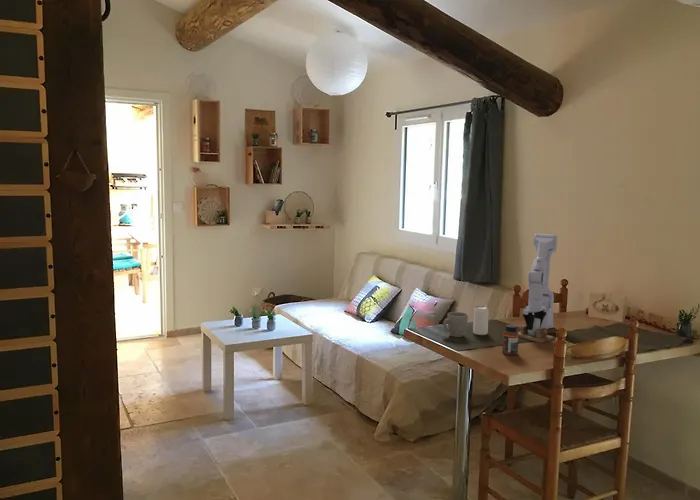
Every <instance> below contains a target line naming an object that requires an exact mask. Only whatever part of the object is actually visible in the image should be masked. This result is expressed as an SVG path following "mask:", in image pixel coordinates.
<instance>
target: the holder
mask: <svg viewBox="0 0 700 500" xmlns="http://www.w3.org/2000/svg"><path fill="white" fill-rule="evenodd" d="M527 332H528V329H527V326H526V324H524V325H520V331H518V333H519V339H524V340H528V341H532V342H536V343H539V344H540V343H546V342H549V341H552V340H554V339H555V336H554V335H549V334H548V329H547V328H541V329H537V331H536V336H532V335H528V334H527Z"/></svg>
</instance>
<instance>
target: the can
mask: <svg viewBox="0 0 700 500" xmlns="http://www.w3.org/2000/svg"><path fill="white" fill-rule="evenodd" d="M489 312H490V311H489V308H488V306H484V305H475V306H474V310H473V323H472V333H473V334H474V335H475V336H477V335H478V336H487V335H488V334H489V333H488V332H489V330H488V329H489V316H490V315H489V314H490V313H489Z"/></svg>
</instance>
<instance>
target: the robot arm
mask: <svg viewBox="0 0 700 500" xmlns="http://www.w3.org/2000/svg"><path fill="white" fill-rule="evenodd" d="M557 245H558V235H557V234H552V233H551V234H547V233H546V234H545V233H535V234H534V237H533V246H534V249H535V251H536V258H534V259H533V260H532V261H533V262H532V266H531V270H530V271H529V272H528V303H527V304H528V305H527V306H525V308H524V309H522V317H523V318H524V321H525V325H526V326H527V329H528V330H532V328H533V322H534V319H535V318H538V319H541V321H540V329H541V328H547V330H548V329H551V328H555V325H554V312H553V310H552V309H553V308H554V302H555V301H554V298H555V297H554V292H553V291H552V290H551V289H550V288H549V279H550V270H551V269H550V266H551V258H552V254H555V253H556V252H557V248H558V247H557Z"/></svg>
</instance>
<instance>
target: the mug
mask: <svg viewBox="0 0 700 500" xmlns="http://www.w3.org/2000/svg"><path fill="white" fill-rule="evenodd" d="M446 315H447V316H446V317H447V318H445V319H444V320H443V323H442V326H443V329H444V331H445V332H446V333H449V335H450V336H451V337H453V336H454V337H453V338H462V337H464V334H465V331H466V329H467V326H468V321H469V319H468V317H469V315H468V314H467V313H465V312H461V311H451V312H447V314H446Z"/></svg>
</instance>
